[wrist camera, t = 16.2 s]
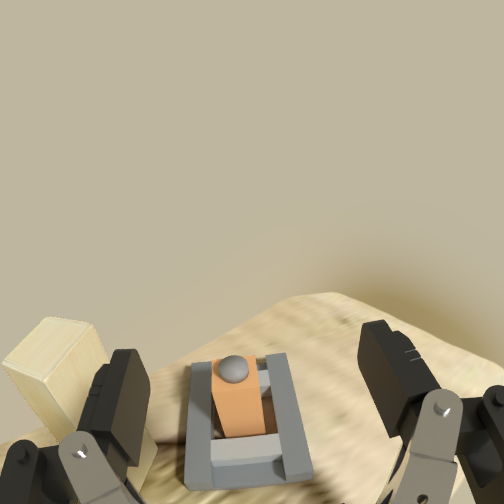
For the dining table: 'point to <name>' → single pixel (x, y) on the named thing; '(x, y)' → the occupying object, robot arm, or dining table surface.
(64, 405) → the pale yellow tall block
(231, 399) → the orange block with knob
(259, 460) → the frame
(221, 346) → the dining table surface
